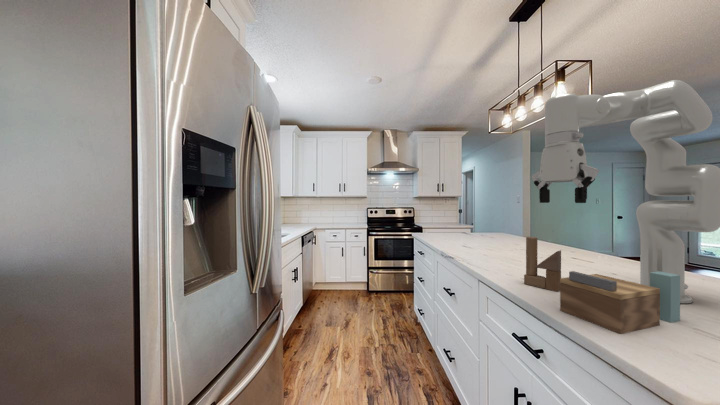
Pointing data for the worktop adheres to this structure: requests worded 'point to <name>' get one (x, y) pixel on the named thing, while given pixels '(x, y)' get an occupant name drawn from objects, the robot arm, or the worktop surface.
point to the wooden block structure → (550, 264)
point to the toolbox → (611, 309)
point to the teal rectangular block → (667, 294)
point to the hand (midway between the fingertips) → (561, 202)
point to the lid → (608, 286)
